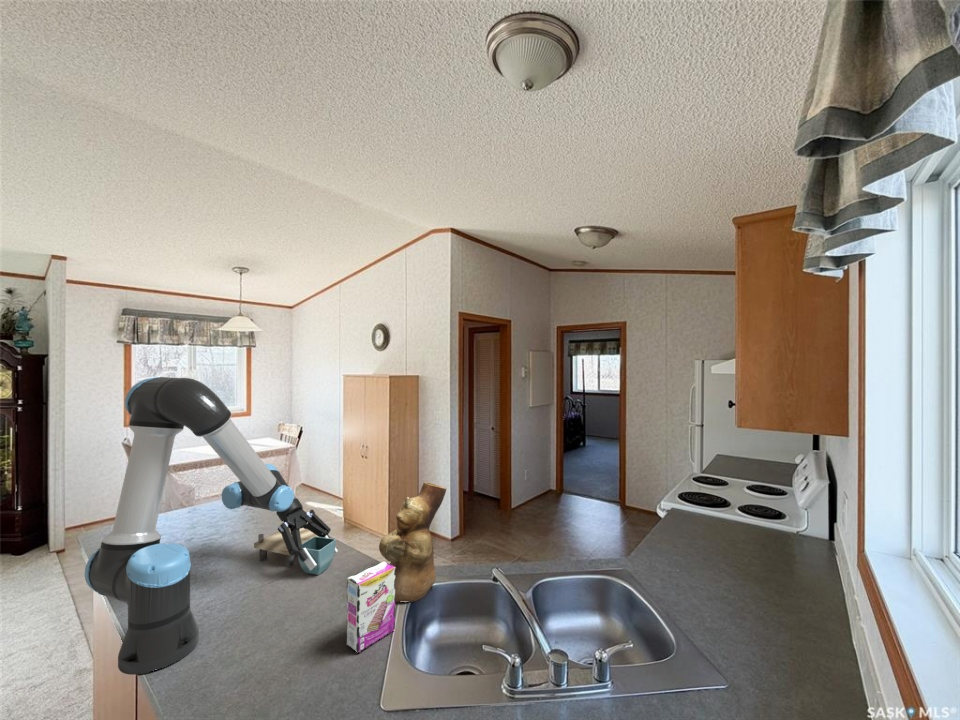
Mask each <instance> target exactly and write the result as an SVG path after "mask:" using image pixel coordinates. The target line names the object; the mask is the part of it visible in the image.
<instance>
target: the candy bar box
mask: <svg viewBox="0 0 960 720" xmlns="http://www.w3.org/2000/svg"><path fill="white" fill-rule="evenodd" d="M346 581H347V582H346V584H347V585H346V586H347V587H346V589H347V591H346V593H347V594H346V595H347V596H346V599H347V600H346V603H347V604H346V609H347V611H346V646H347V645H348V646H349V647H348V646H347V647H348V648H350V647H351V648H352V649H354V650H355V651H356V652H359V651H361V650H363V649H365V648H366V647H368V646H369V647H371V646H372V645H371V644H373V643H374V642H376V641H377V642H379V641H380V640H382V639H383V637H384V636H385V637H386V635H387V634H388V635H390V634H391V632H392V631H393V630H394V629H395V630H396V621H395V620H396V601H395V567H394V566H392V565H390V563H388V562H386V561H382V562H379V563H377V564H375V565H374V566H371V567H369V568H366V569H364V570H362V571H360V572H358V573H355V574H353V575H350V576H349V577H347V579H346ZM393 632H394V631H393ZM393 632H392V633H393ZM389 633H390V634H389ZM388 635H387V636H388ZM385 637H384V638H385ZM381 638H382V639H381ZM379 639H380V640H379ZM378 640H379V641H378ZM377 642H376V643H377ZM374 644H375V643H374ZM374 644H373V645H374ZM370 645H371V646H370ZM369 647H368V648H369ZM351 648H350V649H351ZM352 649H351V650H352ZM366 649H367V648H366ZM366 649H365V650H366ZM363 651H364V650H363ZM356 652H355V653H356Z"/></svg>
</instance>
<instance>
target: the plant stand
mask: <svg viewBox="0 0 960 720" xmlns="http://www.w3.org/2000/svg"><path fill="white" fill-rule="evenodd" d="M289 530H290V528H289ZM299 531H300V537H301V542H302V544H303V543H304V542H306V541H308V540H309V539H311V538H312V537H319V536H317V535H316V534H314V533H313V532H311V531H309V530H308V529H304V528H301V529H300V530H299ZM290 533H291V532H290ZM257 536H258V537H257V539H258V541H256V542H254V543H253V548H255V549H259V552H258V554H259V561H260V562H263V561H267V560H268V552H273V553H277V554H282V555H285V556H286V557H285V558H286V560H285V561H286V566H285V567H286V568H292V567H294V566H295V555H294V554H292V555H290V554H289V552H288V550H287V547H286V545H285V542H284V540H283V537H282V534H281V533H280V532H279V531H278V530H277V532H275V533H273V534H270V535H268V536H266V537H265V535H264V533H260V534H258V535H257Z"/></svg>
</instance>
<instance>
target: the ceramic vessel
mask: <svg viewBox="0 0 960 720" xmlns="http://www.w3.org/2000/svg"><path fill="white" fill-rule="evenodd" d="M446 493H447V487H445V486H443V485H438V484H436V483H431V482H427V481H424V482H423V483H422V486H421V489H420V491H419V493H418V495H417V496H415V497H414V496H413V497H411V498H410V497H409V496H407V497H406V498H405V499H404V502H403V503H402V505H401V506H400V508H399V509H398V512H397V514H396V515H395V519H396V522H397V524H396V525H397V528H395V529H394V530H393V531H391V532H389V533H387V534H386V535H384V536H383V537H382V538H381V539H380V541H379V544H378V550H379V553H380V555H381V556H382V557H383V558H384V559H385V560H386V561H387V562H389V564H390V565H392V566H394V567H395V603H396V602H397V603H400V602H399V601H409V602H410V603H409V604H411V603H414V602H417V601H419V600H421V599H423V598H425V596H426V595H427V594H428V593H429V591H430V590H431V588H432V587H433V585H434V584H435V582H436V579H437V578H436V576H437V572H436V568H435V559H434V555H435V554H434V548H435V547H434V543H433V542H434V541H433V536H432V534H431V531H430V526H431V524H432V522H433V520H434V518H435V515H436V514H437V512H438V510H439V508H440V507H441V505H442V503H443V500H444V499H445V495H446Z"/></svg>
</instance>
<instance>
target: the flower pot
mask: <svg viewBox="0 0 960 720" xmlns="http://www.w3.org/2000/svg"><path fill="white" fill-rule="evenodd" d="M336 542H337V539H336V538H331V537H330V538H324V537H312V538H311V539H309V540H308V541H306V542H304V543H303V544H302V550H303V548H306V549H307V551H308V552H309V554H310V555H311V557H312V558H313V560H314V561H315V563H316V564H317V565H316V566H315V567H314V568H313V569H312V570H311V571H310V570H309V568H308V567H307V565H306V564H305V562H302V561H301V559H300V558H299V556H298V555H297V559H298V563H299V565H300V567H301V569H302V570H303V571H304V572H305V573H306V574H311V575H319V576H320V574H321V573H323V572H324V571H326V570H327V569H328V568H329V567H330V566H331V563H332V562H333V560H334V557H335V555H334V553H335V547H336Z"/></svg>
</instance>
